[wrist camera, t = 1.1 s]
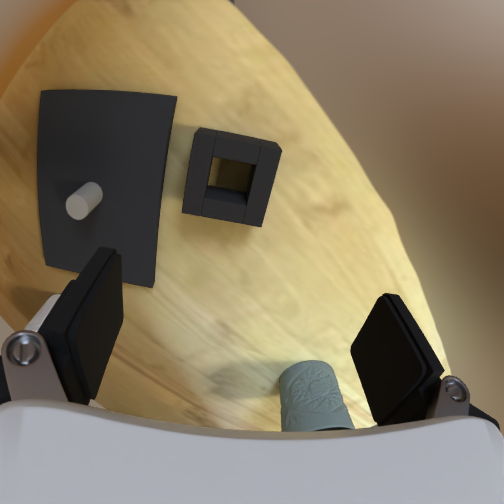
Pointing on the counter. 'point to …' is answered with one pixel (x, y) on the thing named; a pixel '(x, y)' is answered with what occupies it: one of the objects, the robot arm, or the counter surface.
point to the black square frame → (225, 200)
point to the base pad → (102, 177)
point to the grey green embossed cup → (312, 399)
